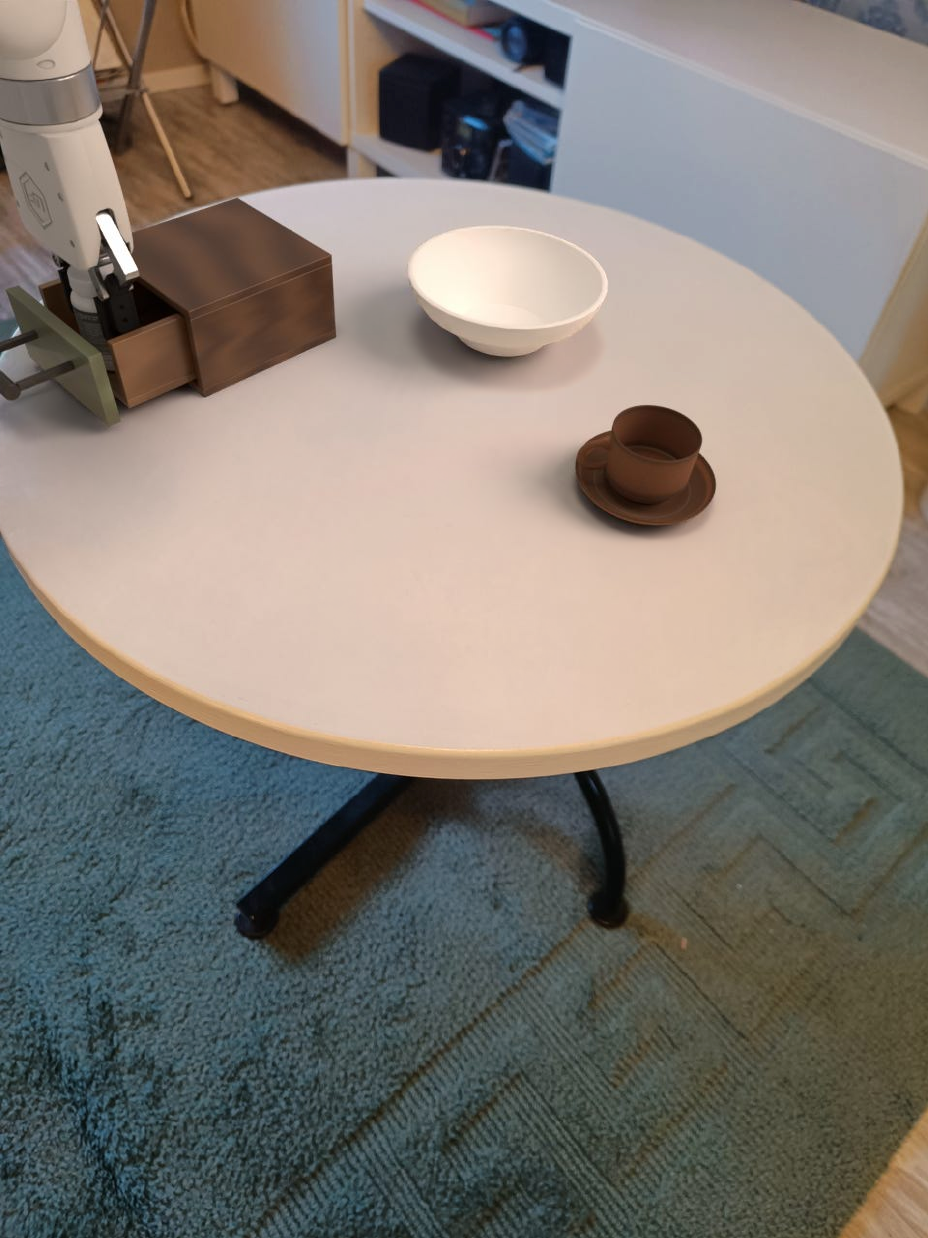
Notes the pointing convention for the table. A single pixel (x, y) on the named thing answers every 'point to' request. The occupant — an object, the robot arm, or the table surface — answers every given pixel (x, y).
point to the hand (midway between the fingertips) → (105, 319)
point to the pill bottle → (89, 310)
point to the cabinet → (238, 289)
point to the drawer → (138, 357)
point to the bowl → (506, 287)
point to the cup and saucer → (647, 467)
